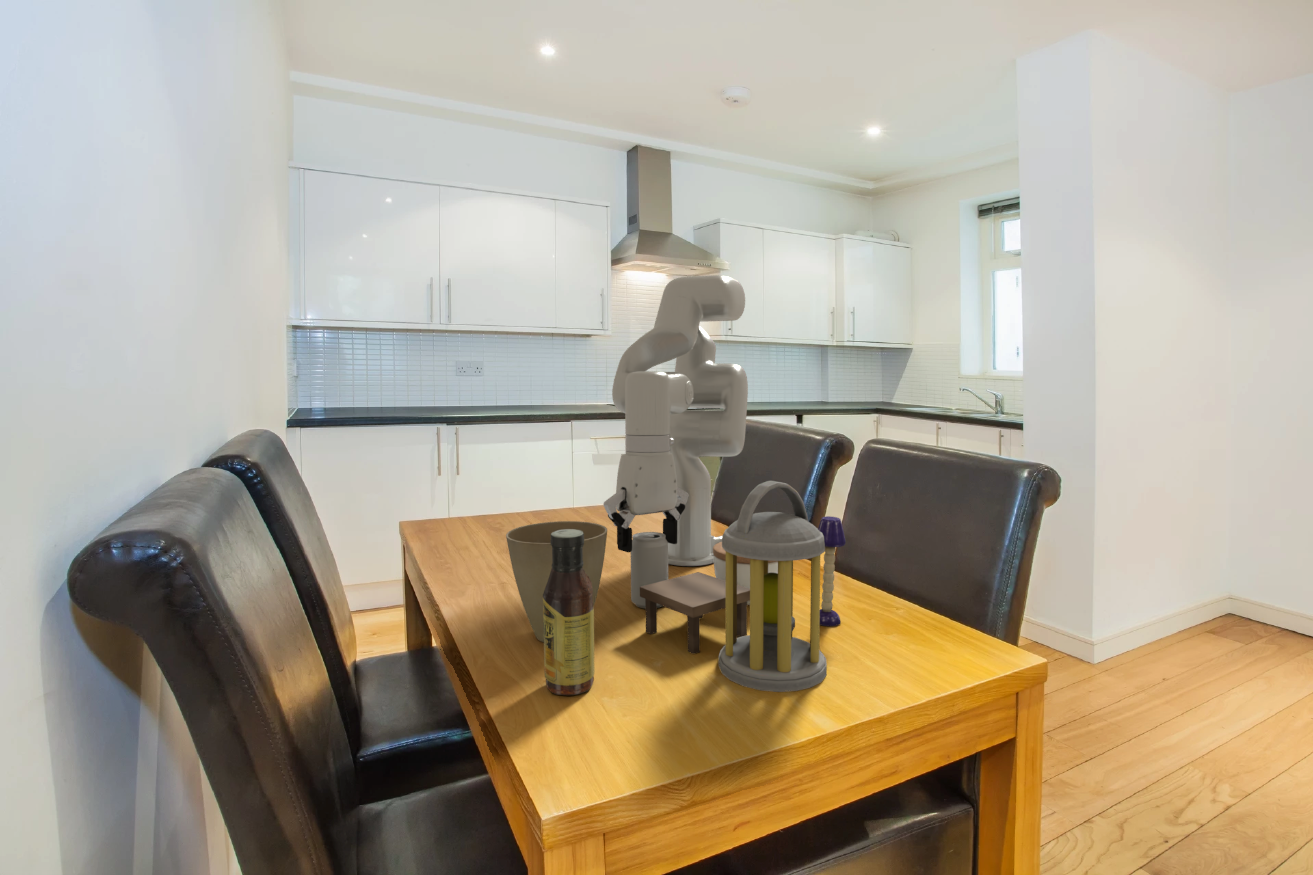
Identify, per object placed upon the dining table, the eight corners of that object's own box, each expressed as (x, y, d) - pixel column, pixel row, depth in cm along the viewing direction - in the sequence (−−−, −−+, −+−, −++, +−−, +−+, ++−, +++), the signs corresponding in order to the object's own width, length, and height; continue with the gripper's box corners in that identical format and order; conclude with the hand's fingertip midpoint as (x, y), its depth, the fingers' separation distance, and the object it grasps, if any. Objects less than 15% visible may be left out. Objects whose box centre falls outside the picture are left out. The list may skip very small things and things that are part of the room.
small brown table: (698, 613, 110) (698, 571, 109) (752, 635, 100) (752, 589, 100) (640, 631, 102) (639, 586, 102) (693, 656, 93) (692, 607, 92)
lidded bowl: (793, 592, 120) (794, 531, 119) (775, 615, 109) (775, 548, 108) (726, 583, 126) (726, 525, 125) (702, 604, 114) (702, 541, 113)
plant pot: (604, 614, 110) (602, 518, 109) (614, 650, 95) (612, 540, 94) (511, 620, 107) (508, 522, 106) (506, 658, 93) (503, 545, 91)
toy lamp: (845, 618, 107) (846, 515, 105) (843, 629, 102) (844, 521, 101) (814, 615, 108) (815, 513, 107) (811, 625, 104) (812, 519, 103)
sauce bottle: (546, 676, 87) (543, 526, 85) (595, 674, 88) (592, 524, 86) (542, 701, 80) (538, 538, 79) (594, 698, 81) (592, 536, 79)
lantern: (775, 638, 99) (776, 470, 97) (850, 673, 87) (853, 483, 85) (697, 660, 92) (696, 479, 89) (768, 702, 80) (769, 494, 77)
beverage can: (664, 611, 111) (664, 540, 110) (627, 609, 112) (626, 538, 111) (671, 598, 117) (671, 531, 116) (635, 596, 119) (635, 530, 118)
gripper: (672, 442, 121) (672, 536, 122) (592, 446, 110) (592, 550, 111) (701, 444, 115) (700, 543, 116) (618, 449, 104) (619, 558, 105)
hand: (648, 546), depth 113 cm, fingers open, 9 cm apart
